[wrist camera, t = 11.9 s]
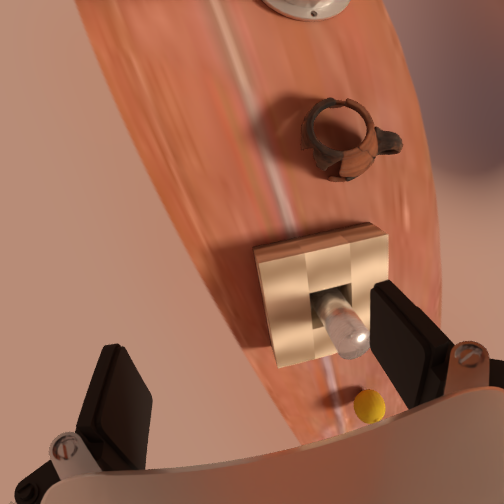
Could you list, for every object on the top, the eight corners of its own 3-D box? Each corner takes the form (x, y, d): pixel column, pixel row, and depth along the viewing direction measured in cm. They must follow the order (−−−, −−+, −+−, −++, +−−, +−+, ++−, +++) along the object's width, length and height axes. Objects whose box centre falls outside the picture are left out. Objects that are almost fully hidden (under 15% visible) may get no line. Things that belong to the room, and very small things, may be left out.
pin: (306, 282, 42) (337, 335, 30) (334, 275, 42) (373, 324, 31) (309, 307, 43) (338, 363, 32) (336, 300, 43) (371, 353, 32)
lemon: (369, 376, 52) (387, 406, 45) (377, 390, 54) (394, 419, 47) (343, 392, 53) (358, 424, 45) (353, 405, 55) (368, 435, 47)
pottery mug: (306, 191, 39) (304, 171, 31) (296, 123, 39) (292, 91, 31) (399, 183, 37) (418, 163, 28) (384, 116, 37) (397, 85, 29)
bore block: (252, 247, 40) (258, 263, 35) (369, 222, 41) (388, 234, 36) (271, 346, 46) (277, 368, 41) (370, 319, 47) (384, 337, 42)
